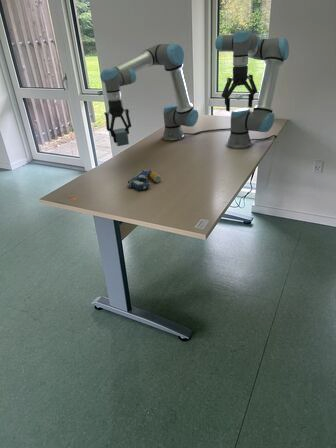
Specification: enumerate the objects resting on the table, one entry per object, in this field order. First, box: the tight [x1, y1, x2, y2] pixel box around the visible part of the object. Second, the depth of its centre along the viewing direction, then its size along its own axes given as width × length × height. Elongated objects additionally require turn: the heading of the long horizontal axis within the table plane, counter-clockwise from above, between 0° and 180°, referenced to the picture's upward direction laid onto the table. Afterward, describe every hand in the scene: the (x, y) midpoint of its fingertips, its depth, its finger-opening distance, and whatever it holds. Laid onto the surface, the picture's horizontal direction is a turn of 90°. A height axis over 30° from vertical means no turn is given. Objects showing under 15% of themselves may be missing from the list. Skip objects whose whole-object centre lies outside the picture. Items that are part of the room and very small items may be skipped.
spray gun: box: [126, 169, 162, 191], centre depth 181 cm, size 21×4×15 cm
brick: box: [113, 127, 130, 147], centre depth 193 cm, size 7×9×7 cm
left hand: (121, 140), depth 195 cm, fingers closed on brick, 7 cm apart
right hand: (239, 109), depth 180 cm, fingers open, 13 cm apart
